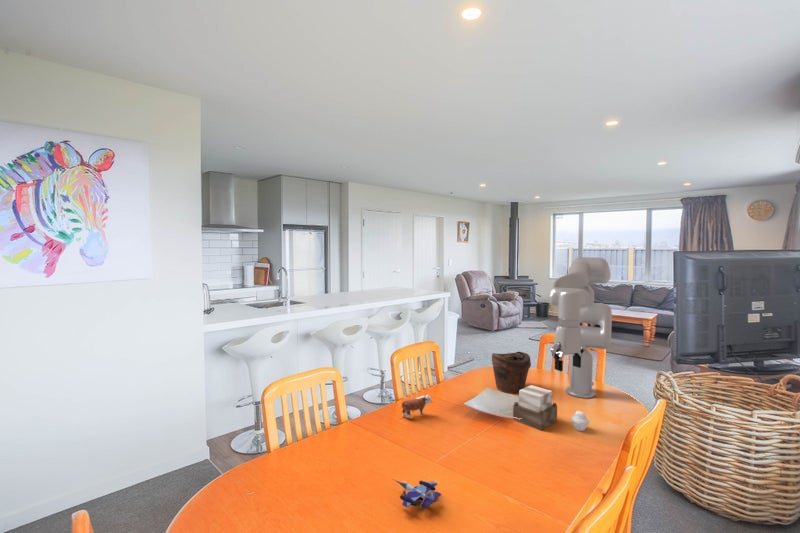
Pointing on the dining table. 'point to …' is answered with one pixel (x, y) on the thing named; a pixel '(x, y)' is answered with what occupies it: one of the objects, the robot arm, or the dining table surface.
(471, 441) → the dining table surface
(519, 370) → the brown plant pot
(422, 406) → the bull figurine
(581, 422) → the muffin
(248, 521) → the dining table surface
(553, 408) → the knobbed square box
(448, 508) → the dining table surface
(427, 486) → the toy airplane
